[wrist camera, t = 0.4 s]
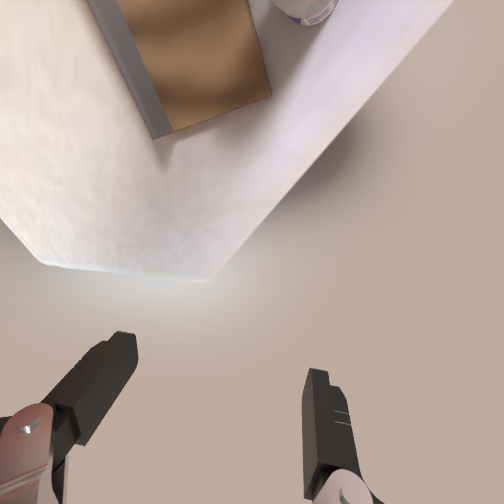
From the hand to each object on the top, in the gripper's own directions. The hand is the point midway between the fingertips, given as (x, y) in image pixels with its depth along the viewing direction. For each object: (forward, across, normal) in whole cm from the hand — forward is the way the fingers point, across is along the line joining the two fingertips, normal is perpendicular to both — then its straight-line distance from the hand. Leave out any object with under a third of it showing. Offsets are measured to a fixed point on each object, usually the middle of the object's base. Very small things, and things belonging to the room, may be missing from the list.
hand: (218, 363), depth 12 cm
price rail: (+26, +18, -17) cm, 36 cm away
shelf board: (+26, +12, -20) cm, 35 cm away
